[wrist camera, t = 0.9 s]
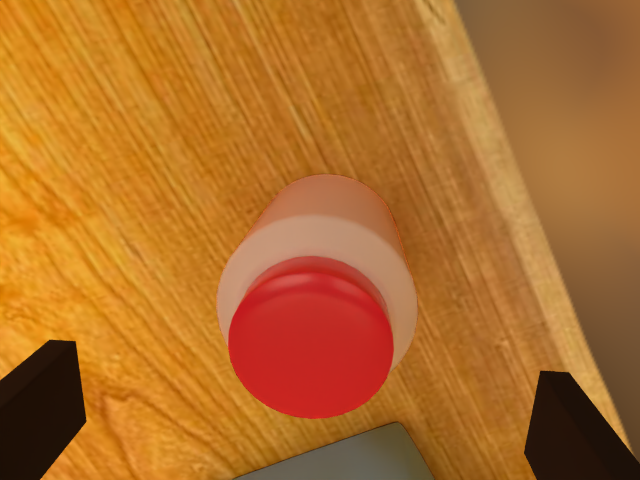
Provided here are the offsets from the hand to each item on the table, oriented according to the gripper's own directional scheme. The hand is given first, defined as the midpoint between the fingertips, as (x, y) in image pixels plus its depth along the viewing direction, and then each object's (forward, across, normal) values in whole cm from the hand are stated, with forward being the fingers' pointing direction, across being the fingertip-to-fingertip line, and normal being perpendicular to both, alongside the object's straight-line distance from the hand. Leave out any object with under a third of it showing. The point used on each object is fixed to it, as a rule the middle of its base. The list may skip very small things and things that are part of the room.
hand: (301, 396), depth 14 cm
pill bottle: (+13, 0, 0) cm, 13 cm away
